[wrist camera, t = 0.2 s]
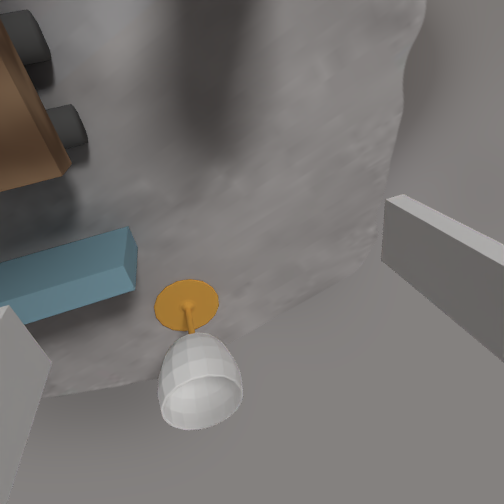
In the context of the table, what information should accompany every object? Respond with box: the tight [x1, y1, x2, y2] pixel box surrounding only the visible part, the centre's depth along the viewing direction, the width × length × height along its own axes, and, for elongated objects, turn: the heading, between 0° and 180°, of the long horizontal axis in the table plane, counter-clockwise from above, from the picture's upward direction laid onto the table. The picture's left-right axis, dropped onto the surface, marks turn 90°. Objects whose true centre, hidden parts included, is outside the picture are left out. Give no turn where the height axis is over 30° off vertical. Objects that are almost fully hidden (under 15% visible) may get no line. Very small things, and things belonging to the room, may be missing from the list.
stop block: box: [0, 226, 138, 325], centre depth 34 cm, size 3×16×9 cm, turn 101°
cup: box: [154, 279, 243, 430], centre depth 39 cm, size 9×9×16 cm
